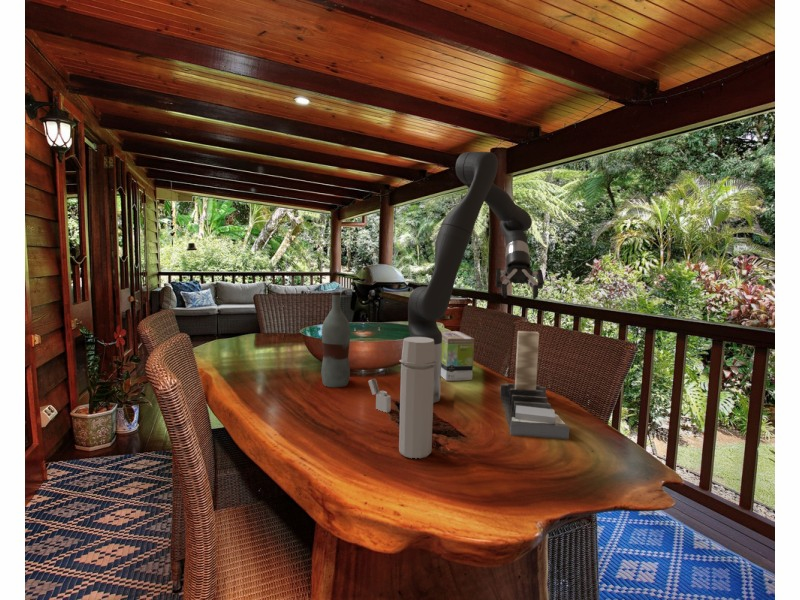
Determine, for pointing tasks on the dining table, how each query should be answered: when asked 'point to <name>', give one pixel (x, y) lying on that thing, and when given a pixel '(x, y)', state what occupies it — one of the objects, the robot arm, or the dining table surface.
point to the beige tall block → (526, 360)
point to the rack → (529, 399)
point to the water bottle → (416, 397)
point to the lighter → (380, 397)
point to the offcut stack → (536, 415)
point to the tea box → (457, 356)
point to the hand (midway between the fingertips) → (520, 296)
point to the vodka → (335, 346)
